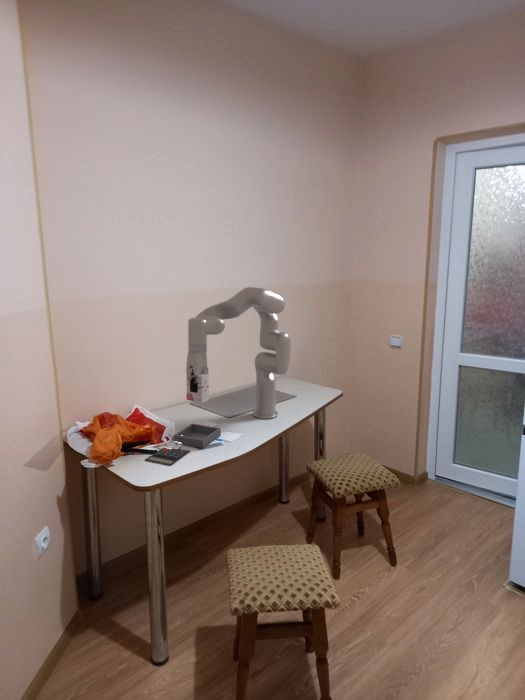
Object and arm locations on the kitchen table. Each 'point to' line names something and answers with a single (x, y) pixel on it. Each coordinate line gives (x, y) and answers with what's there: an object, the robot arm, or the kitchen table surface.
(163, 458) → the calculator
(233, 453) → the kitchen table surface
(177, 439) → the desk tray
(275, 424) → the kitchen table surface
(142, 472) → the kitchen table surface
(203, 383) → the ink cartridge box
